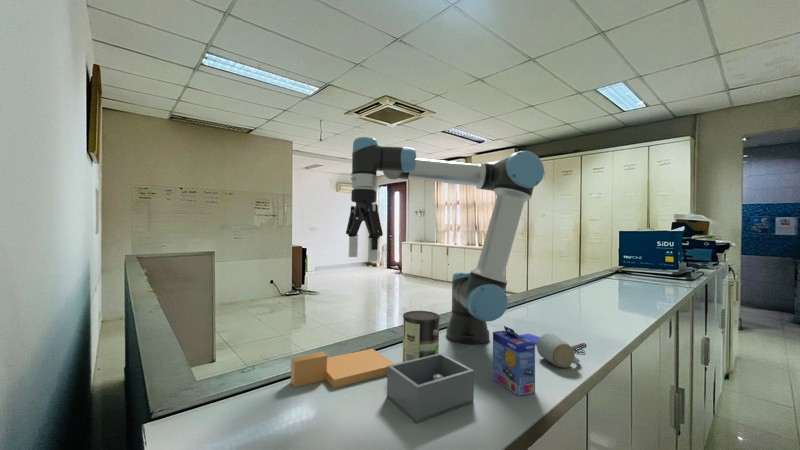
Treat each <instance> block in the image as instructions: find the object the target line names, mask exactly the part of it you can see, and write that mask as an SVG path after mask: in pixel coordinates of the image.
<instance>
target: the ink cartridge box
mask: <svg viewBox="0 0 800 450" xmlns="http://www.w3.org/2000/svg"><path fill="white" fill-rule="evenodd" d="M503 328H504V330H497V331H493V332H492V379H494V380H495V381H496V382H498V383H499V384H501V385H502V386H503V387H504V388H506V389H507V390H509V391H510V392H511V393H512V394H514V395H515V396H518V397H519V396H524V395H525V396H526V395H529V394H534V393H536V346H535V342H534V341H532V340H529V339H527V338H525V337H522V336H520V335H521V334H520V335H519V334H518V332H515V330H514V329H513V328H510V327H507V326H505V325H503Z"/></svg>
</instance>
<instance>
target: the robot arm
mask: <svg viewBox="0 0 800 450" xmlns="http://www.w3.org/2000/svg"><path fill="white" fill-rule="evenodd" d="M351 152H352V156H351V157H352V158H351V161H352V162H351V163H352V165H351V177H350V181H351V187H352V190H351V199H350V200H351V202H352V203H355V205H350V212H349V216H348V217H349V218H348V222H347V224H346V225H347V227H346V230H345V234H346V235H347V236H348V257H349V258H357V257H358V245H359V243H358V242H359V238H358V237H359V234H358V233H359V230H360V228H361V225H362V222H364V223H365V226H366V229H367V232H368V236H367V238H368V246H367V247H368V248H367V261H368V262H378V261H379V259H378V256H379V255H378V254H379V238H380V237H383V234H384V233H383V229H382V228H383V227H382V224H381V220H380V214H379V205H378V204H375V203H376V202H377V191H376V189H377V180H378V179H377V175H378V174H377V173H378V171H379V172H382V173H383V175H384V177H386V178H387V179H389V180H397V179H402V180H415V181H425V182H426V181H427V182H435V183H445V184H452V185H453V184H454V185H455V184H456V185H464V186H473V187H475V188H476V189H477V190H484V191H485V190H486V191H492V192H494V194H495V195H496V199H495V202H494V206H493V209H492V213H491V217H490V219H489V223H488V228H487V231H486V234H485V238H484V241H483V245H482V248H481V252H480V256H479V259H478V262H477V266H476V267H475V268H473V269H471V270H470V272H454V273H453V274H452V280H451V316H450V318H449V321H448V325H447V327H446V332H445V335H446V337H447V338H448V339H449V340H451V341H454V342H457V343H461V344H467V345H469V344H470V345H480V344H484V343H487V342H489V341H490V331H489V329H488V326H487V325H488V324H487V322H494V321H496V320H498V319H499V318H501V317H502V316H503V315H504V314H505V312H506V311H507V309H508V304H509V302H508V300H509V299H508V296H507V293H506V288H507V285H508V280H507V279H506V277H505V273H506V269H507V265H508V261H509V258H510V254H511V250H512V248H513V244H514V240H515V237H516V234H517V229H518V226H519V221H520V218H521V215H522V211H523V208H524V205H525V203H526V202H527V201H529V200H531V198H532V196H533V191H534V188H535V187H537V186H538V185H539V184H540V183H541V181H543V179H544V177H545V176H544V175H545V165H544V164H543V162H542V160H541V158H540V157H539V156H538V155H537V154H536V153H534V152H532V151H529V150H520V151H516V152H513V153H511V154H510V155H509V156H507V157H505V158H503V159H500V160H498V161H497V160H496V161H493V162H483V161H482V162H480V163H478V164H476V163H465V162H458V161H457V162H456V161H448V160H437V159H436V160H435V159H428V158H427V159H426V158H417V152H416V149H415V148H413V147H406V146H382V145H378V141H377V139H376V138H373V137H369V136H360V137H357V138H355V139H354V140H353V143H352V151H351Z"/></svg>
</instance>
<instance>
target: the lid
mask: <svg viewBox="0 0 800 450" xmlns="http://www.w3.org/2000/svg"><path fill="white" fill-rule="evenodd" d="M290 359H291V360H290V361H291V362H290V383H291V385H292V386H293V388H297V387H301V386H306V385H309V384H313V383H317V382H323V381H327V382H328V384H329V385H330V386H332V388H333V389H336V388H340V387H344V386H348V385H352V384H356V383H359V382H364V381H367V380H372V379H374V378H375V379H376V378H379V377H382V376H383V377H384V376H387V367H388V366H389V365H393V364H395V363H394V362H392V361H391V360H390V359H388V358H387V357H385V356H384V355H382V354H381V353H380V352H378V351H377V350H375V349H374V348H369V349H364V350H360V351H355V352H349V353H344V354H340V355H335V356H330V357H328V355H327V354H326V353H325V351H319V352H313V353H308V354H303V355H299V356H292V357H291V358H290Z"/></svg>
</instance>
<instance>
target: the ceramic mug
mask: <svg viewBox="0 0 800 450" xmlns="http://www.w3.org/2000/svg"><path fill="white" fill-rule="evenodd" d="M539 337H540V338H539V340H538V342H537V345H536V350H537V353H538V354H539V356H541V357H542V358H543V359H545V360H546V361H548V362H549V363H550V364H552V365H554V366H556V367H557V368H560V369H563V368H568V367H569V366H571V365H572V364H574V365H579V364H580V359H579V358H578V357H576V356H575V354H576V353H575V352H574V350H573V348H572V346H571V345H570V343H568V342H567V341H565V340H563V339H562V338H561V337H559V336H557V335H556V334H554V333H550V332H548V333H544V334H542V335H541V336H539Z"/></svg>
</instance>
